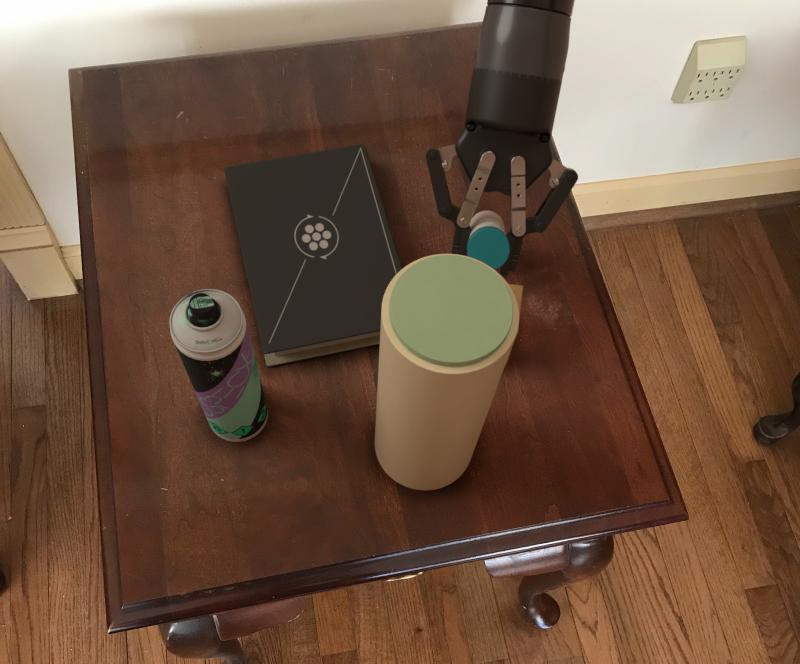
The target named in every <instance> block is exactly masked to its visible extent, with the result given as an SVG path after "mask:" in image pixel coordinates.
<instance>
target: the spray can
mask: <svg viewBox="0 0 800 664" xmlns="http://www.w3.org/2000/svg"><path fill="white" fill-rule="evenodd" d="M168 322H169V330H170V336H171V339H172V342H173V344H174V347H175V349H176V351H177V353H178V356H179V358H180V360H181V362H182V365H183V367H184V369H185V372H186V374H187V376H188V379H189V381H190V383H191V385H192V388H193V390H194V392H195V396H196V397H197V399H198V402H199V405H200V406H201V408H202V411H203V414H204V416H205V418H206V420H207V422H208V425H209V427H210V428H211V430H212V431H213V433H214V434H215V435H216V436H217V437H218V438H221V439H222V440H224V441H227V442H232V443H240V442H241V443H242V442H247V441H248V440H252V439H253V438H255V437H257V435H259V434H260V433H261V432H262V431H263V430H264V428H265V426H266V424H267V421H268V418H269V409H268V403H267V399H266V395H265V391H264V387H263V384H262V380H261V374H260V371H259V368H258V364H257V359H256V355H255V351H254V347H253V343H252V340H251V336H250V332H249V328H248V324H247V323H248V322H247V319H246V316H245V313H244V311H243V309H242V308H241V305H240V304H239V302H238V301H237V300H236V298H234V297H233V296H232V295H230V294H229V293H227V292H225V291H223V290H221V289H215V288H203V289H198V290H195V291H191V292H190V293H188V294H185V295H184V296H183V297H181V299H179V300H178V301H177V303H176V304H175V305H174V306H173V308H172V310H171V313H170V316H169V321H168Z"/></svg>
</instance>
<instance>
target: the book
mask: <svg viewBox="0 0 800 664" xmlns="http://www.w3.org/2000/svg"><path fill="white" fill-rule="evenodd" d="M223 171H224V175H225V181H226V186H227V190H228V194H229V200H230V203H231V209H232V213H233V218H234V223H235V227H236V232H237V236H238V242H239V246H240V251H241V255H242V258H243V259H242V261H243V265H244V269H245V274H246V279H247V284H248V289H249V292H250V297H251V302H252V307H253V311H254V317H255V320H256V325H257V330H258V335H259V340H260V343H261V348H262V354H263V358H264V362H265V366H266V368H273V367H278V366H283V365H287V364H292V363H297V362H302V361H306V360H312V359H317V358H322V357H325V356H326V357H327V356H331V355H336V354H340V353H341V354H342V353H346V352H350V351H355V350H360V349H366V348H370V347H376V346H380V329H381V310H382V301H383V297H384V294H385V291H386V289H387V287H388V285H389V283H390V282H391V280H392V279H393V278H394V276H395V275H396V274H397V273H398V272H399V271H400V270H402V269H403V266H402V262H401V259H400V256H399V252H398V250H397V246H396V243H395V240H394V236H393V233H392V230H391V227H390V223H389V220H388V216H387V213H386V210H385V207H384V203H383V199H382V197H381V193H380V189H379V186H378V183H377V180H376V177H375V173H374V170H373V166H372V163H371V159H370V157H369V153H368V150H367V147H366V145H365V144H364V143H363V144H361V143H360V144H354V145H348V146H342V147H336V148H330V149H323V150H319V151H312V152H307V153H306V152H305V153H300V154H295V155H289V156H283V157H277V158H271V159H265V160H259V161H252V162H247V163H242V164H235V165H230V166H225V167H224V168H223Z"/></svg>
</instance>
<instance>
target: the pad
mask: <svg viewBox="0 0 800 664" xmlns="http://www.w3.org/2000/svg"><path fill="white" fill-rule="evenodd" d="M467 257H468V256H467ZM467 257H463V256H457V255H439V256H433V257H430V258H426V259H424V260H421V261H419V262H417V263H415V264H414V265H412V266H411V267H410V268H408V269H407V270H406V271H405V272H404V273H403V274H402V275H401V276H400V277H399V279H398V280H397V282H396V283H395V285H394V287H393V290H392V293H391V297H390V305H389V314H390V321H391V325H392V327H393V330H394V332H395V334H396V335H397V337H398V339H399V340H400V341H401V343H402V344H403V345H404V346H405V347H406V348H407V349H408V350H409V351H411V352H412V353H413V354H414V355H416V356H418V357H419V358H421V359H423V360H426V361H428V362H431V363H434V364H437V365H443V366H465V365H470V364H473V363H476V362H479V361H481V360H483V359H485V358H487V357H488V356H490V355H492V354H493V353H494V352H495V351H496V350H497V349H498V348H499V347H500V346H501V345H502V344H503V342H504V341H505V339H506V337H507V335H508V333H509V330H510V327H511V324H512V319H513V304H512V299H511V296H510V293H509V291H508V289H507V287H506V286H505V284H504V282H503V281H502V280H501V279H500V277H499V276H498V275H497V274H496V273H495V272H494V271H492V270H491V269H490V268H488V267H487V266H485V265H484V264H482V263H480V262H478V261H476V260H473V259H470V258H467Z"/></svg>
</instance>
